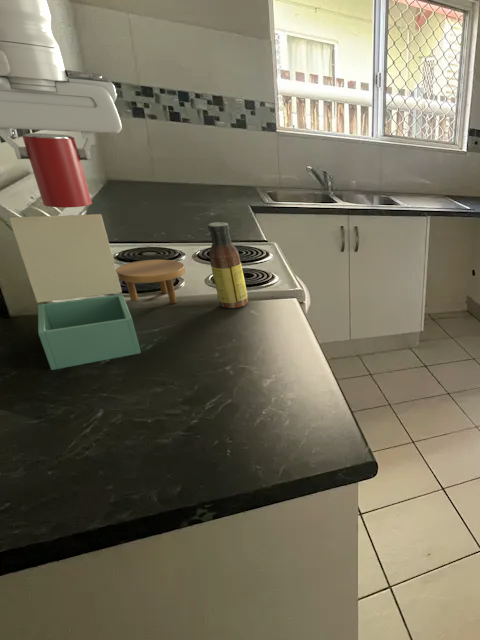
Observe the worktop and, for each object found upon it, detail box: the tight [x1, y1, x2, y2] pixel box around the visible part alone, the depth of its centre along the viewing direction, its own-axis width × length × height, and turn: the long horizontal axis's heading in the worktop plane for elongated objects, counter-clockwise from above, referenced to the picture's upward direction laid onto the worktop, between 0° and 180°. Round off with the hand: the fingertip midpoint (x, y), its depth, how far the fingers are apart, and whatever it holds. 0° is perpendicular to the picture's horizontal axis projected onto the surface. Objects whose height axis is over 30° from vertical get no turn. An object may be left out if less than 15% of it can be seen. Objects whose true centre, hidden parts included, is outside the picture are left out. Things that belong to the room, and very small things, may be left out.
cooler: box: [37, 293, 142, 371], centre depth 89 cm, size 15×13×8 cm
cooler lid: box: [8, 213, 123, 304], centre depth 90 cm, size 15×13×1 cm
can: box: [21, 132, 93, 209], centre depth 81 cm, size 6×6×11 cm
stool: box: [116, 259, 186, 304], centre depth 113 cm, size 13×13×8 cm
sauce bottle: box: [207, 221, 249, 309], centre depth 111 cm, size 6×6×20 cm
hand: (55, 159), depth 80 cm, fingers closed on can, 6 cm apart
